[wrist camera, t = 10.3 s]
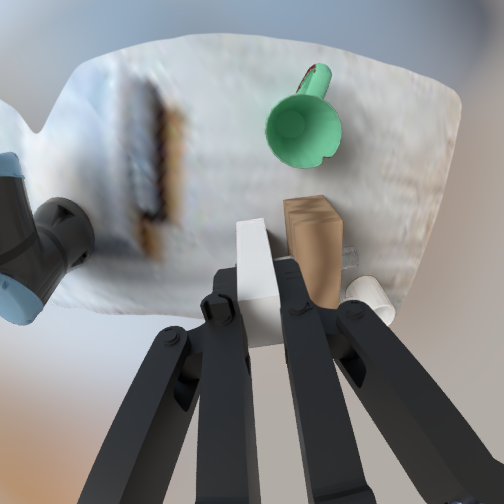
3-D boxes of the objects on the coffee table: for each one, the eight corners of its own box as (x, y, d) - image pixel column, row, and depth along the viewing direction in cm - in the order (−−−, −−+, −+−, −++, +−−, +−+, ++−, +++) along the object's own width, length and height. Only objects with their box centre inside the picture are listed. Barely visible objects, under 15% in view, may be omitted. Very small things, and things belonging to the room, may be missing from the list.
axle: (239, 276, 49) (239, 289, 46) (235, 259, 47) (235, 272, 44) (350, 259, 48) (357, 270, 45) (351, 242, 46) (358, 253, 43)
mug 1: (309, 161, 44) (327, 178, 35) (251, 144, 42) (255, 156, 33) (336, 80, 36) (362, 78, 28) (278, 59, 35) (290, 48, 26)
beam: (290, 283, 56) (299, 319, 48) (283, 200, 47) (294, 227, 38) (323, 278, 56) (338, 312, 47) (322, 195, 47) (342, 220, 38)
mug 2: (337, 271, 56) (353, 302, 47) (383, 277, 57) (402, 306, 49) (324, 300, 60) (336, 333, 51) (369, 304, 61) (384, 334, 53)
